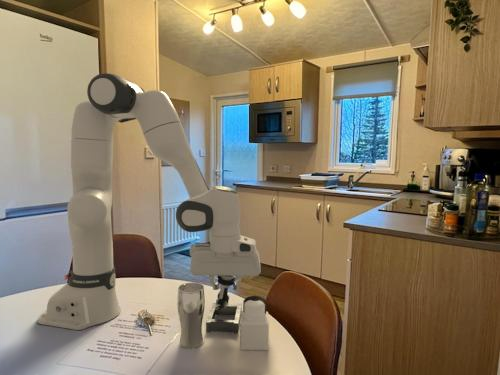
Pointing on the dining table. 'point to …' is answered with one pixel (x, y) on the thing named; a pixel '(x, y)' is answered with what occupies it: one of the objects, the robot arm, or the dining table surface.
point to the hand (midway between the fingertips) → (225, 289)
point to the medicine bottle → (254, 324)
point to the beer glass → (191, 314)
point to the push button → (223, 291)
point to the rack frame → (224, 325)
